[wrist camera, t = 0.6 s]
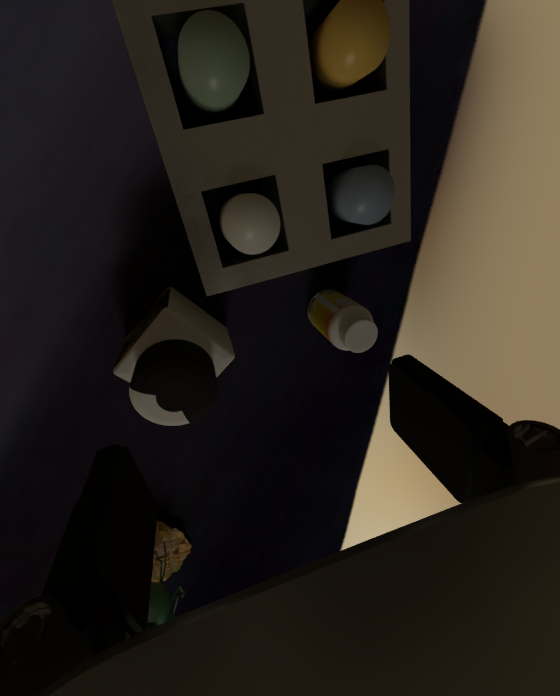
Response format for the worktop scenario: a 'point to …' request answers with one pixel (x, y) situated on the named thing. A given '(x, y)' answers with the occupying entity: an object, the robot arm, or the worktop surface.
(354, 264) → the worktop surface
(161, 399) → the medicine bottle
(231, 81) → the sage button
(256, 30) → the panel
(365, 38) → the amber rounded lump
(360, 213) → the slate button
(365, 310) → the supplement bottle
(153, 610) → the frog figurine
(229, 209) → the ivory button
